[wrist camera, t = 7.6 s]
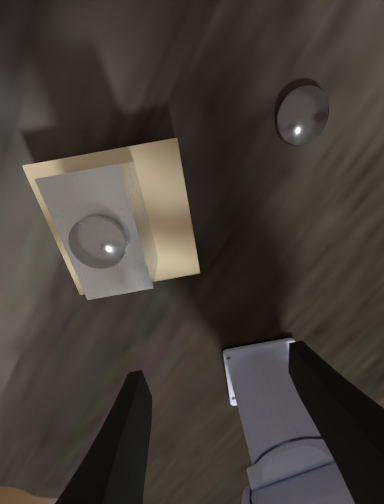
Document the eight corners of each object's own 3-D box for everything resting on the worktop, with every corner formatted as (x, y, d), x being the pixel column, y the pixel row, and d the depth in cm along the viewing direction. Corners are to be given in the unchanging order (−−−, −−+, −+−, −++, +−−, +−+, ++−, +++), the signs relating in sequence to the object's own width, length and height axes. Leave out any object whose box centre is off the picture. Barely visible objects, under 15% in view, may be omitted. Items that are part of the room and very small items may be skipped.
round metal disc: (319, 142, 17) (325, 141, 16) (272, 148, 17) (277, 148, 16) (324, 85, 15) (332, 81, 15) (274, 91, 15) (279, 88, 15)
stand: (197, 262, 20) (200, 273, 18) (88, 282, 20) (80, 294, 18) (176, 139, 16) (177, 137, 14) (39, 164, 16) (22, 165, 14)
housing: (134, 161, 14) (115, 164, 10) (158, 257, 17) (152, 294, 13) (73, 172, 14) (26, 180, 10) (107, 266, 17) (83, 306, 13)
